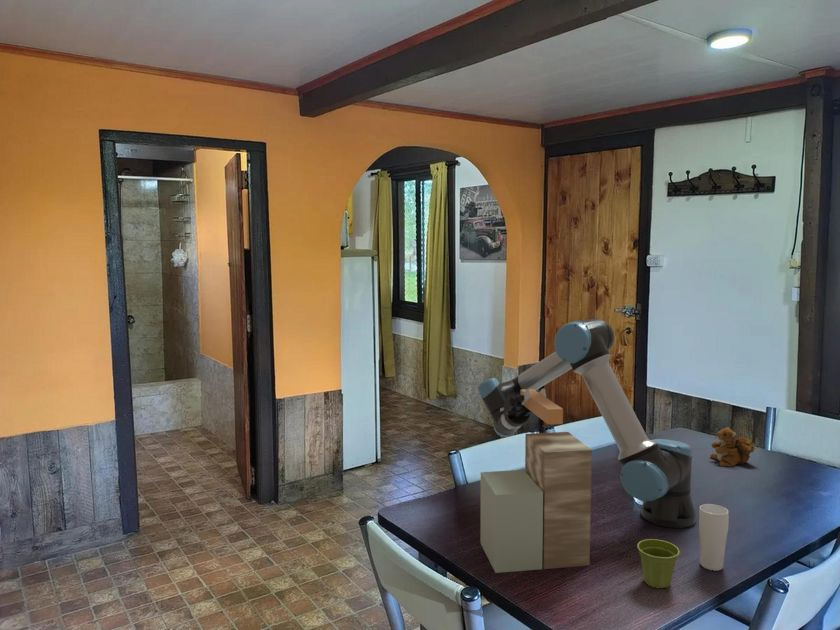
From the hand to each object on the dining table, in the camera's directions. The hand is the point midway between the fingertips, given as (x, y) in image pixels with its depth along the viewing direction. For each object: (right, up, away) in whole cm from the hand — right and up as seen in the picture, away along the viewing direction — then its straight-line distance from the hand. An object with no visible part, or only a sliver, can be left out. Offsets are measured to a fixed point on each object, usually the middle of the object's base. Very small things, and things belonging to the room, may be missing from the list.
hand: (536, 393), depth 178 cm
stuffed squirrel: (+83, -33, +56) cm, 105 cm away
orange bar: (+1, -5, -3) cm, 6 cm away
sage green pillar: (-10, -41, -14) cm, 44 cm away
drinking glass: (+40, -41, -21) cm, 61 cm away
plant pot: (+24, -42, -28) cm, 56 cm away
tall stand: (+3, -40, -13) cm, 42 cm away
